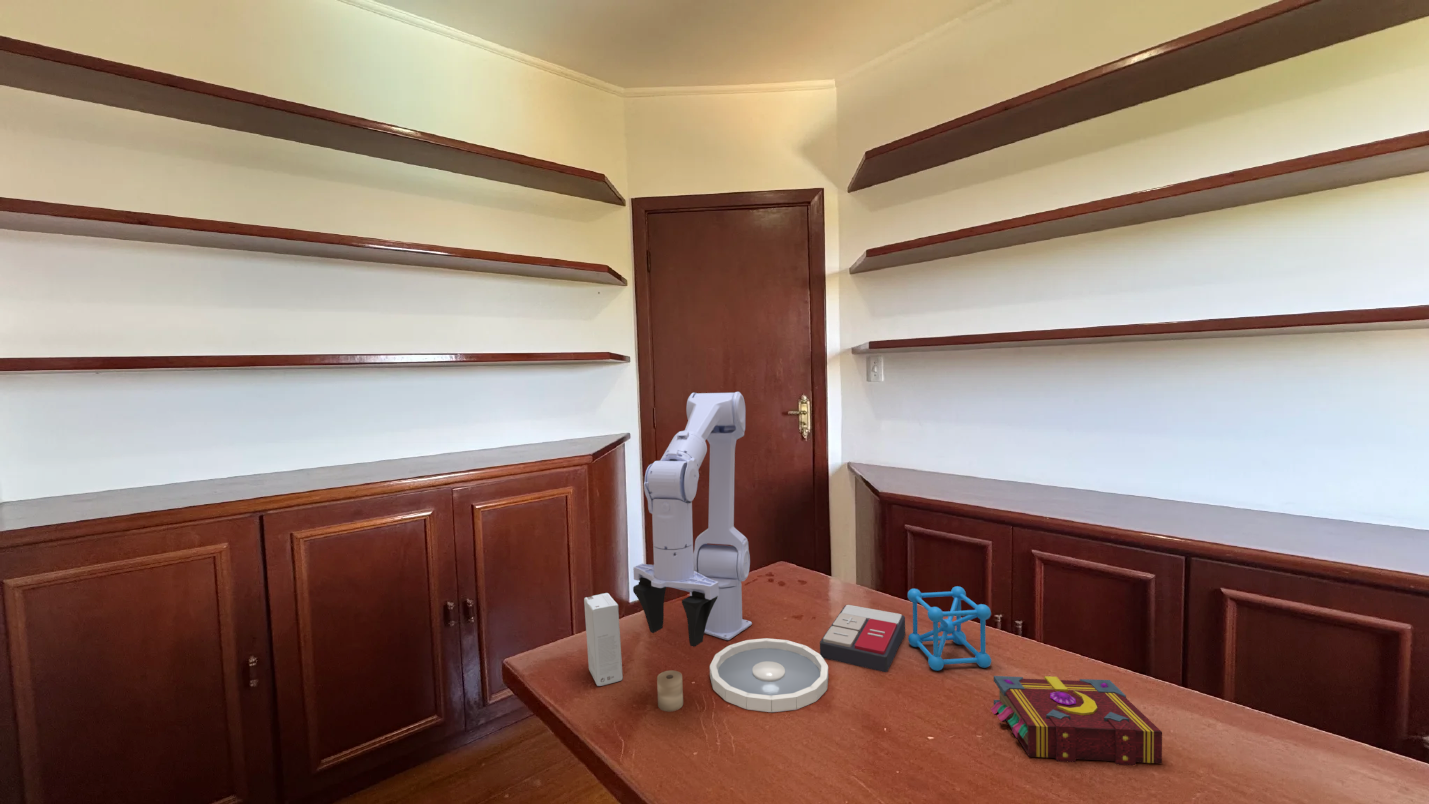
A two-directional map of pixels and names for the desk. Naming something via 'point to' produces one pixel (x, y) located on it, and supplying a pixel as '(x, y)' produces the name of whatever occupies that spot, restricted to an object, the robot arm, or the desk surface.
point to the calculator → (864, 637)
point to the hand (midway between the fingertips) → (675, 636)
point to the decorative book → (1076, 720)
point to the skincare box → (603, 639)
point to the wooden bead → (670, 690)
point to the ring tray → (769, 675)
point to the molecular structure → (949, 627)
